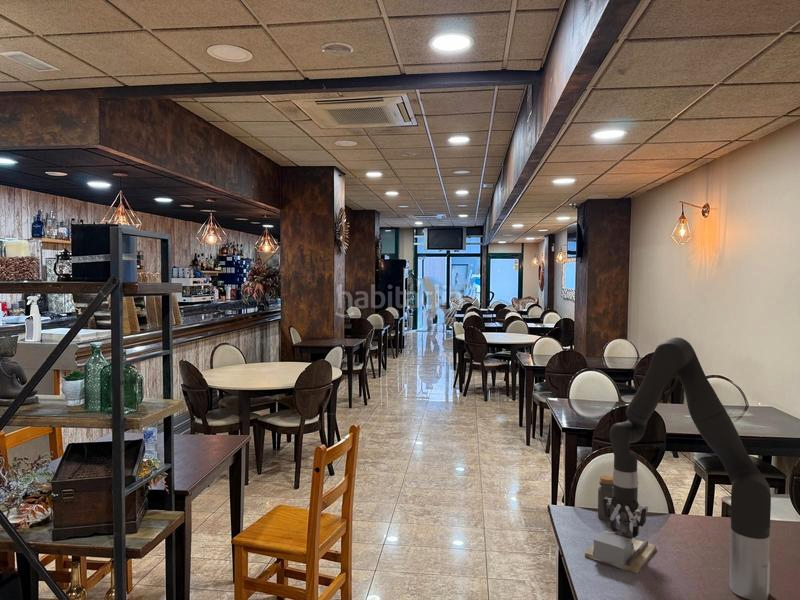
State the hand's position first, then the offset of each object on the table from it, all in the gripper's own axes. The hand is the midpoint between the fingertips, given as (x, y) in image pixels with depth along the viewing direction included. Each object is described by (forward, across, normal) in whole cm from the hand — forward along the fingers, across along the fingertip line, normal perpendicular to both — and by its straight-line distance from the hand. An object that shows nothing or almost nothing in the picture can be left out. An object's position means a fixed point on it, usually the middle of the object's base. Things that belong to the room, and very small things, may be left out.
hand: (624, 533), depth 179 cm
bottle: (+5, -13, +21) cm, 25 cm away
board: (+5, 0, -3) cm, 6 cm away
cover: (+4, 0, -11) cm, 12 cm away
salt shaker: (+3, 0, 0) cm, 3 cm away
